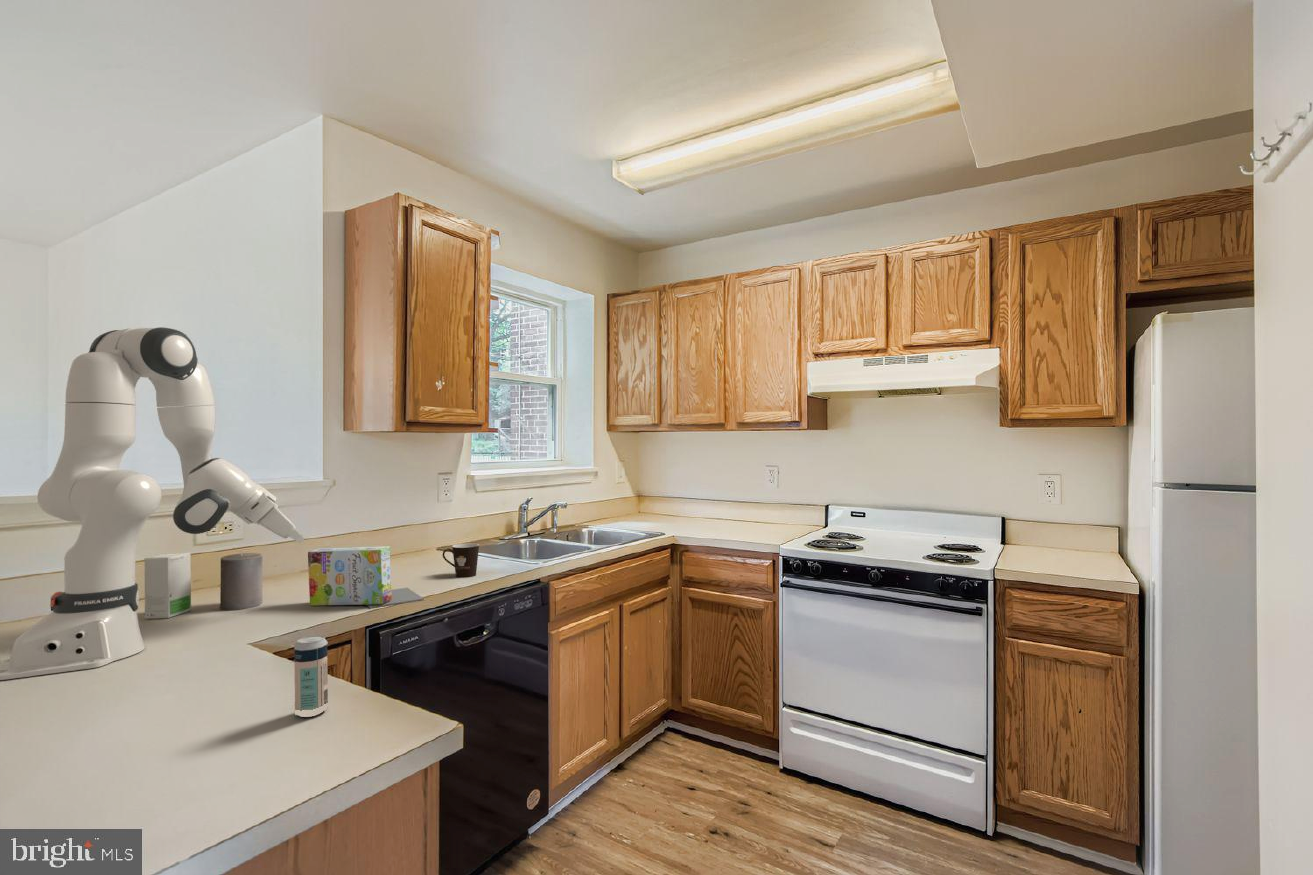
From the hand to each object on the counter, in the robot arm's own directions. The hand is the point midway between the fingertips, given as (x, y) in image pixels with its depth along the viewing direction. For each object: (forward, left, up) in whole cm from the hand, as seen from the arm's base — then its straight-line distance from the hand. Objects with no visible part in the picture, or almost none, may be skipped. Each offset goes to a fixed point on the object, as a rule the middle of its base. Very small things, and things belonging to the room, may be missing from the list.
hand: (302, 540), depth 162 cm
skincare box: (-28, +20, -19) cm, 39 cm away
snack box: (+12, 0, -18) cm, 22 cm away
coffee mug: (+49, +17, -19) cm, 55 cm away
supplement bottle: (-7, -72, -19) cm, 75 cm away
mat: (+22, 0, -19) cm, 28 cm away
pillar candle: (-12, +18, -19) cm, 29 cm away
